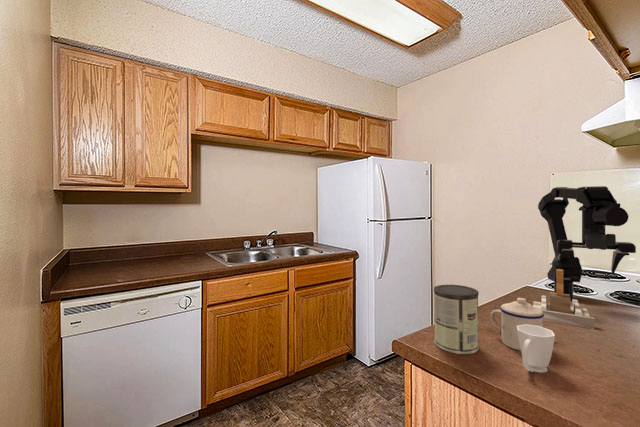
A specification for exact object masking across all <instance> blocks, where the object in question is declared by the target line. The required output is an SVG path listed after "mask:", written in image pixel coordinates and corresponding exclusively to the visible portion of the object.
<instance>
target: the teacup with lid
mask: <svg viewBox="0 0 640 427" xmlns="http://www.w3.org/2000/svg"><path fill="white" fill-rule="evenodd" d="M496 313H497V314H501V320H500V322H501V325H500V324H499V323H498V322H497V321H496V318H495V316H496V315H495V314H496ZM489 317H490V321H491V323H492V325H493V326H495V328H497V329H499V330H500V331H501V338H500V339H501V342H502V343H503V344H504V345H505V346H506V347H508V348H510V349H513V350H516V351H519V352H521V349H520V343H519V337H518V331H517V326H518V325H525V324H528V325H535V326H541V327H543V326H544V320H543V317H544V314H543V312H542V310H540V309H539V308H536V307H534V306H533V304H531V303H529V302H527V299H526V298H523V297H518V298H516V301H511V302H508V303H503V304H501V305H500V308H499V309H494V310H491V312H490V316H489ZM543 328H544V327H543Z"/></svg>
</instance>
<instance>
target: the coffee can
mask: <svg viewBox="0 0 640 427" xmlns="http://www.w3.org/2000/svg"><path fill="white" fill-rule="evenodd" d="M433 292H434V293H433V295H434V296H433V298H434V299H433V301H434V305H433V306H434V308H433V309H434V310H433V311H434V345H436V347H438V348H439V349H440V350H443V351H445V352H448V353H451V354H452V353H453V354H458V355H471V354H475V353H477V352H478V351H479V350H480V349H479V293H480V291H479V290H478V289H476V288H473V287H470V286H465V285H461V284H459V285H458V284H439V285H436V286H434V287H433Z"/></svg>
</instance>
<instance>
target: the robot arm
mask: <svg viewBox="0 0 640 427" xmlns="http://www.w3.org/2000/svg"><path fill="white" fill-rule="evenodd" d="M558 198H562V199H558ZM569 199H570V200H575V201H576V202H577V203H579V204H581V206H580V207H579V208H578V211H579V212H580V211H581V242H578V241H577V242H575V241H573V240H572V239H568V236H567V233H566V228H565V225H564V223H565V222H564V221H563V220H564V219H563V218H564V216H565V215H566V212H567V210H566V209H567V207H568V206H569V204H570V201H569ZM537 209H538V210H539V213H540V216H541V217H542V218H543V219H544V220H545V221H546V222H547V225H548V230H549V233H550V234H549V235H550V238H551V243H552V248H553V252H554V257H553V260H552V261H551V268H549V270H548V271H547V280H549V281H552V282H553V293H557V269H562V270H563V294H569V295H570V298H571V300H572V299H574V300H576V297H575V294H574V283H581V280H582V276H583V267H582V264H581V262H580V258H579V257H577V256H575V252H574V251H575V250H574V249H573V248H576V249H577V248H579V249H588V250H593V249H594V250H595V249H596V250H601V251H602V250H603V251H606V250H613V251H612V259H611V268H610V271H611V275H612V274H613V275H614V274H615V272H616V270H617V268H618V267H619V264H620V262H621V261H622V259H623V258H624V257H625V256H630V253H631V254H636V253H637V251H636V250H637V247H636V244H634V243H632V242H630V241H627V242H626V241H616V234H615V233H606V226H610V227H621V226H623V225H625V224H626V223H627V222H628V220H629V216H630V215H629V214H628V211H627V210H626V209H624V208H623V207H621V203H620V202H619V203H618V201H617V199H615V197H614V196H613V194H612V192H611V191H610V189H609V188H608V187H607V186H606V185H605V186H604V185H602V186H601V185H599V186H580V187H568V186H556V187H553V188H552V189H551V190H550V191H549V193H547V194H544V196H542V197H541V199H540V200H539V202H538V204H537Z"/></svg>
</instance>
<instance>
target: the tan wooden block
mask: <svg viewBox="0 0 640 427" xmlns="http://www.w3.org/2000/svg"><path fill="white" fill-rule="evenodd" d="M553 292H554V291H553ZM553 292H551V291H550V292H549V304H550V311H554V312H560V313H567V314H571V307H572V304H571V300H572V299H571V298H570V295H569V294H563V270H562V269H557V293H553Z"/></svg>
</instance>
